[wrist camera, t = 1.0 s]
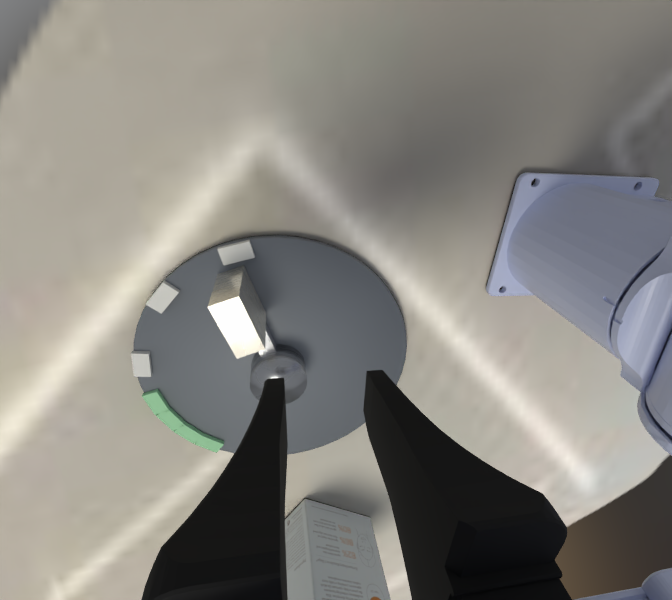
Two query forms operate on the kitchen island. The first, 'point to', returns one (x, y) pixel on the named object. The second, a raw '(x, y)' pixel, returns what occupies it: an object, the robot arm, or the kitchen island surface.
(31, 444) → the kitchen island surface
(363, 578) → the small box
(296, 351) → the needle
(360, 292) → the dial
